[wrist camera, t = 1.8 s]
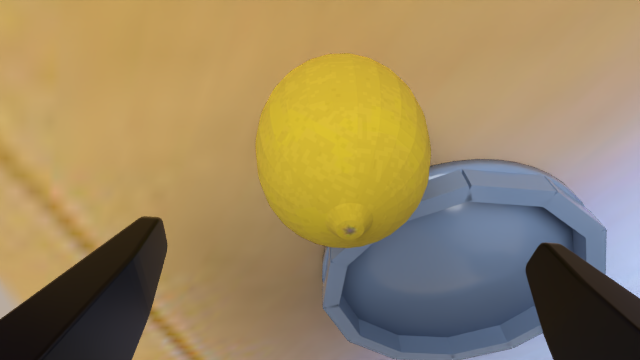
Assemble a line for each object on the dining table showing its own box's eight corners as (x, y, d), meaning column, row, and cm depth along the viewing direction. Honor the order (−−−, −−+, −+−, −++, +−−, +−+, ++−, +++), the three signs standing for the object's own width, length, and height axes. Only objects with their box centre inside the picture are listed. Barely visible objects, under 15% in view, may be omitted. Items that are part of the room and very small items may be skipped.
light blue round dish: (517, 338, 27) (529, 365, 25) (311, 328, 26) (311, 357, 24) (646, 171, 18) (678, 197, 16) (339, 147, 17) (342, 172, 15)
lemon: (420, 37, 14) (508, 150, 8) (382, 158, 17) (422, 308, 11) (274, 14, 13) (237, 114, 7) (264, 143, 17) (233, 291, 10)
